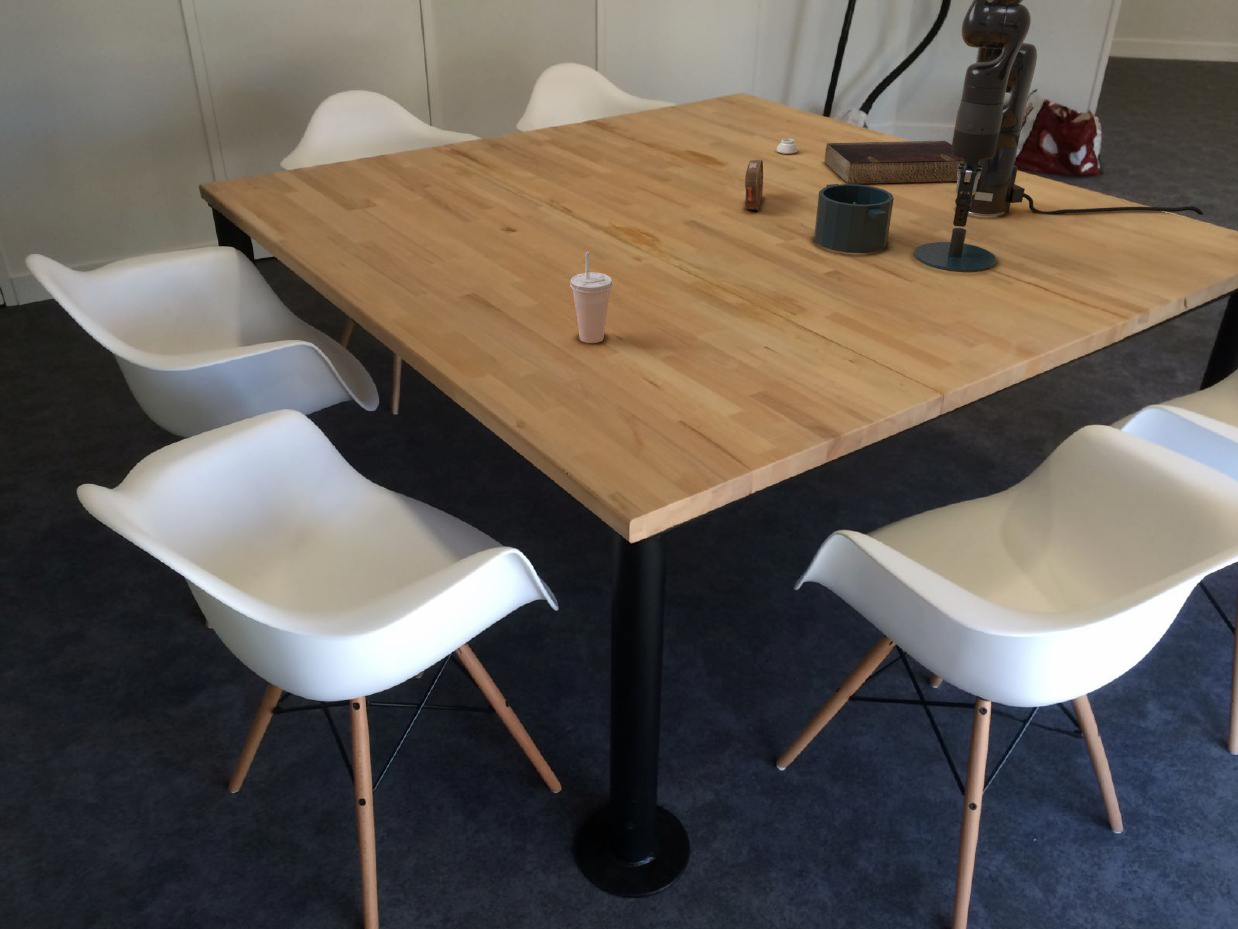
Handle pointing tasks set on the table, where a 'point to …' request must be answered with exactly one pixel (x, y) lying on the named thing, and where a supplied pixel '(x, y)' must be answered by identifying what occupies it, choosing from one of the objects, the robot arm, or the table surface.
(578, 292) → the smoothie
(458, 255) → the table surface
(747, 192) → the tin
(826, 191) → the pot
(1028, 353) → the table surface
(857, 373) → the table surface
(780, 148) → the lidless jar
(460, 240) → the table surface
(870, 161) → the hardback book
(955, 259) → the lid
